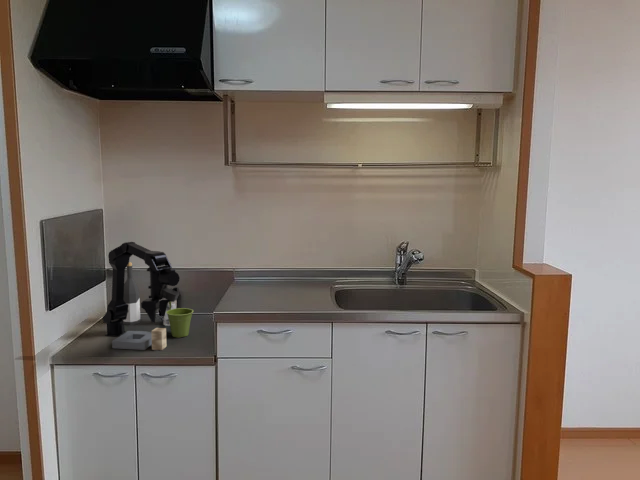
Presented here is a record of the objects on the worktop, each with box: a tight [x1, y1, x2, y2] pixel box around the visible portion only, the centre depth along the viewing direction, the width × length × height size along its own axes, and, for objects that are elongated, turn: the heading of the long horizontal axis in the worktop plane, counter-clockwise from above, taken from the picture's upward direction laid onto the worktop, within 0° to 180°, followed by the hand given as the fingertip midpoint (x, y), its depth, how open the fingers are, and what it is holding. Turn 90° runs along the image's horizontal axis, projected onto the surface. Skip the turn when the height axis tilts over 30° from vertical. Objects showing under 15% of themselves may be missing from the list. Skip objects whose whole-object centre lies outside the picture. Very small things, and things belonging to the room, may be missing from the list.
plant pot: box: [166, 307, 194, 338], centre depth 212 cm, size 12×12×11 cm
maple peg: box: [150, 327, 168, 351], centre depth 196 cm, size 4×4×8 cm
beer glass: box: [162, 299, 178, 327], centre depth 228 cm, size 7×7×15 cm
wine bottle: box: [123, 261, 141, 326], centre depth 228 cm, size 8×8×30 cm
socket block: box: [111, 330, 152, 351], centre depth 201 cm, size 14×14×3 cm
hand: (158, 319), depth 195 cm, fingers open, 9 cm apart
